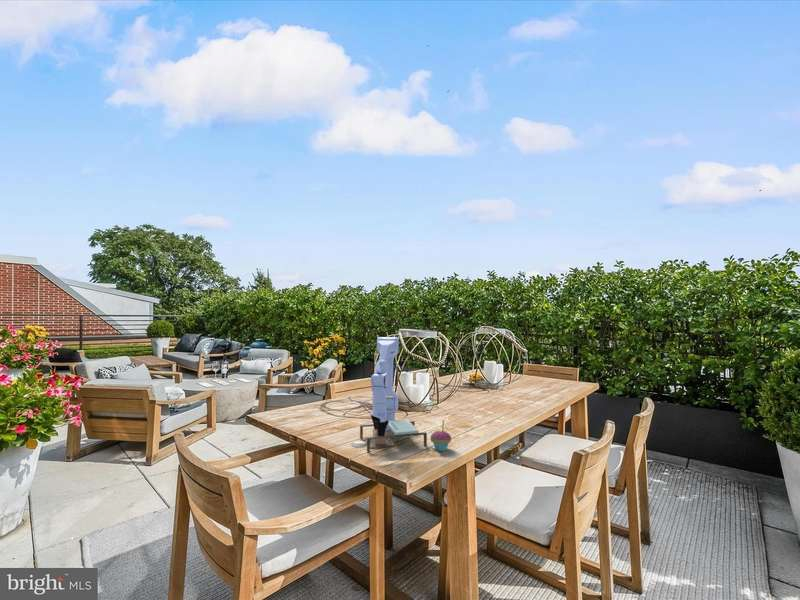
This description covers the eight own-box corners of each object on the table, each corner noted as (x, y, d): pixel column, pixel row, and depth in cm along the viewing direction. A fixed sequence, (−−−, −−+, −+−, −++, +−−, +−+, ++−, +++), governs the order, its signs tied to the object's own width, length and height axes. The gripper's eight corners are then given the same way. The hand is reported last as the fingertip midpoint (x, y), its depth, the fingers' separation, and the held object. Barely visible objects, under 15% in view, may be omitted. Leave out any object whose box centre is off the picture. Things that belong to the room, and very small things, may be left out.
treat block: (373, 441, 165) (373, 429, 166) (383, 440, 167) (383, 428, 167) (375, 444, 161) (375, 432, 161) (385, 443, 162) (385, 431, 162)
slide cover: (385, 423, 173) (385, 420, 173) (407, 421, 176) (407, 419, 176) (395, 435, 157) (395, 432, 157) (418, 433, 160) (418, 430, 160)
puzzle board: (347, 440, 169) (348, 426, 170) (413, 435, 177) (413, 421, 177) (353, 455, 152) (354, 439, 152) (426, 448, 160) (426, 433, 160)
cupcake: (438, 444, 165) (438, 415, 166) (455, 448, 160) (455, 419, 160) (426, 449, 159) (426, 420, 159) (444, 454, 153) (444, 423, 154)
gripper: (366, 399, 170) (366, 430, 170) (373, 406, 156) (373, 441, 156) (382, 398, 172) (382, 429, 172) (390, 405, 158) (390, 439, 158)
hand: (379, 434), depth 164 cm, fingers open, 7 cm apart
